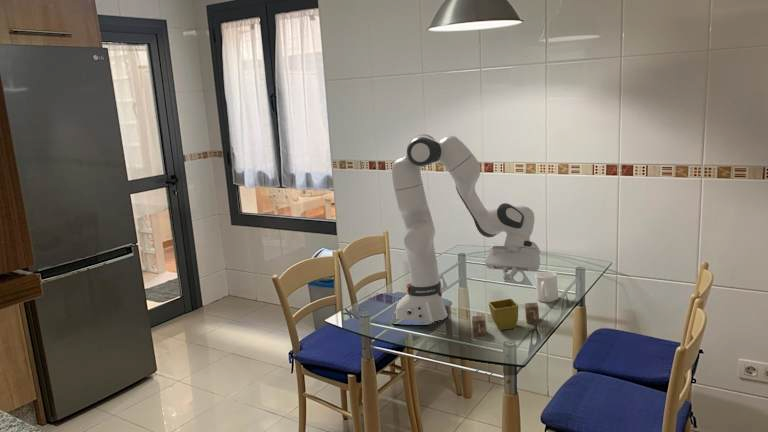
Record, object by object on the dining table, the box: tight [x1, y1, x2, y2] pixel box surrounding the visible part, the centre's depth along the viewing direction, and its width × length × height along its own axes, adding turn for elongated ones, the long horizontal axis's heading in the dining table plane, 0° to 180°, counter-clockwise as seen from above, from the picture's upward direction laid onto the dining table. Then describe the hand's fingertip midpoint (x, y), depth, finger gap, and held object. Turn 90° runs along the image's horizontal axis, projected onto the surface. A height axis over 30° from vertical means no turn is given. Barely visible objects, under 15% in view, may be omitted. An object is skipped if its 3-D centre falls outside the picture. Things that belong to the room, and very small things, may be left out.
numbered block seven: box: [524, 302, 540, 324], centre depth 213 cm, size 4×5×6 cm
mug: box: [534, 271, 559, 303], centre depth 231 cm, size 12×8×10 cm
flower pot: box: [488, 298, 519, 331], centre depth 210 cm, size 9×9×9 cm
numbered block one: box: [471, 315, 488, 338], centre depth 207 cm, size 4×5×6 cm
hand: (507, 279), depth 212 cm, fingers closed
